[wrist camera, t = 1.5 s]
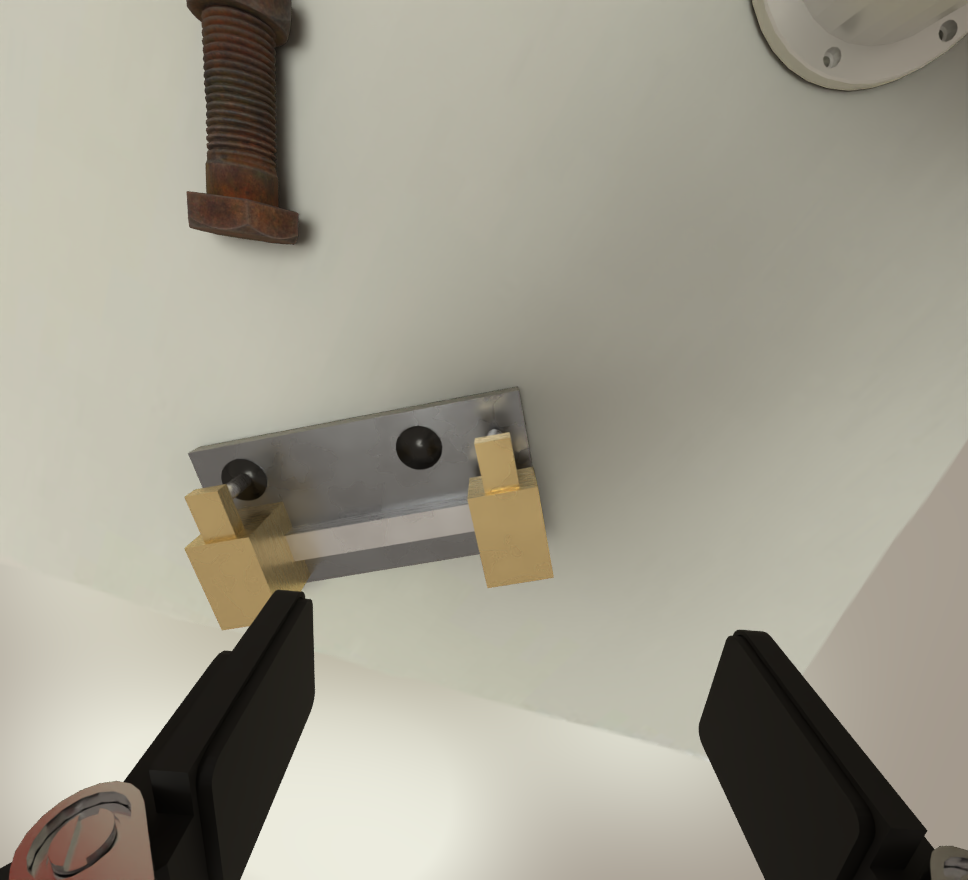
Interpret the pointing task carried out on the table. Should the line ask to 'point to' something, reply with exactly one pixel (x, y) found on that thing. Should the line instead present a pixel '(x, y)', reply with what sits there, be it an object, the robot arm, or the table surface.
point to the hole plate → (341, 498)
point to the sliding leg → (507, 515)
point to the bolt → (241, 121)
